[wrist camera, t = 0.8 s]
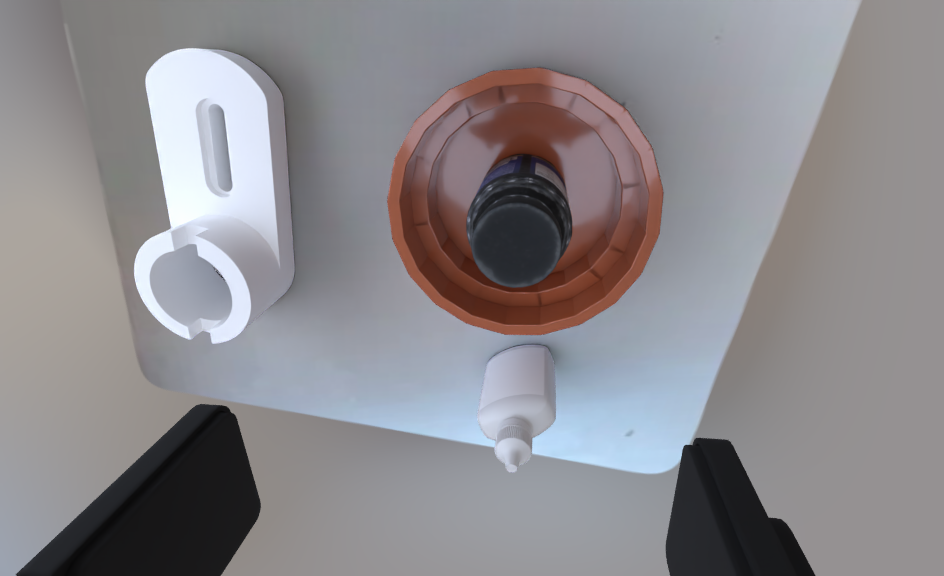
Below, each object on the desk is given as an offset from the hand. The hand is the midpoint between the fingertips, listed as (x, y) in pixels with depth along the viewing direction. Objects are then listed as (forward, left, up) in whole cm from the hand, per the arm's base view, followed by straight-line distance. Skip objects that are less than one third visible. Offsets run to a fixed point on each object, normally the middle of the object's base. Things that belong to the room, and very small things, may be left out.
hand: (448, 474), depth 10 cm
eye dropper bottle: (+9, -12, -28) cm, 32 cm away
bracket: (-18, -13, -28) cm, 35 cm away
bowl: (+1, 0, -28) cm, 28 cm away
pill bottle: (+1, 0, -27) cm, 27 cm away
